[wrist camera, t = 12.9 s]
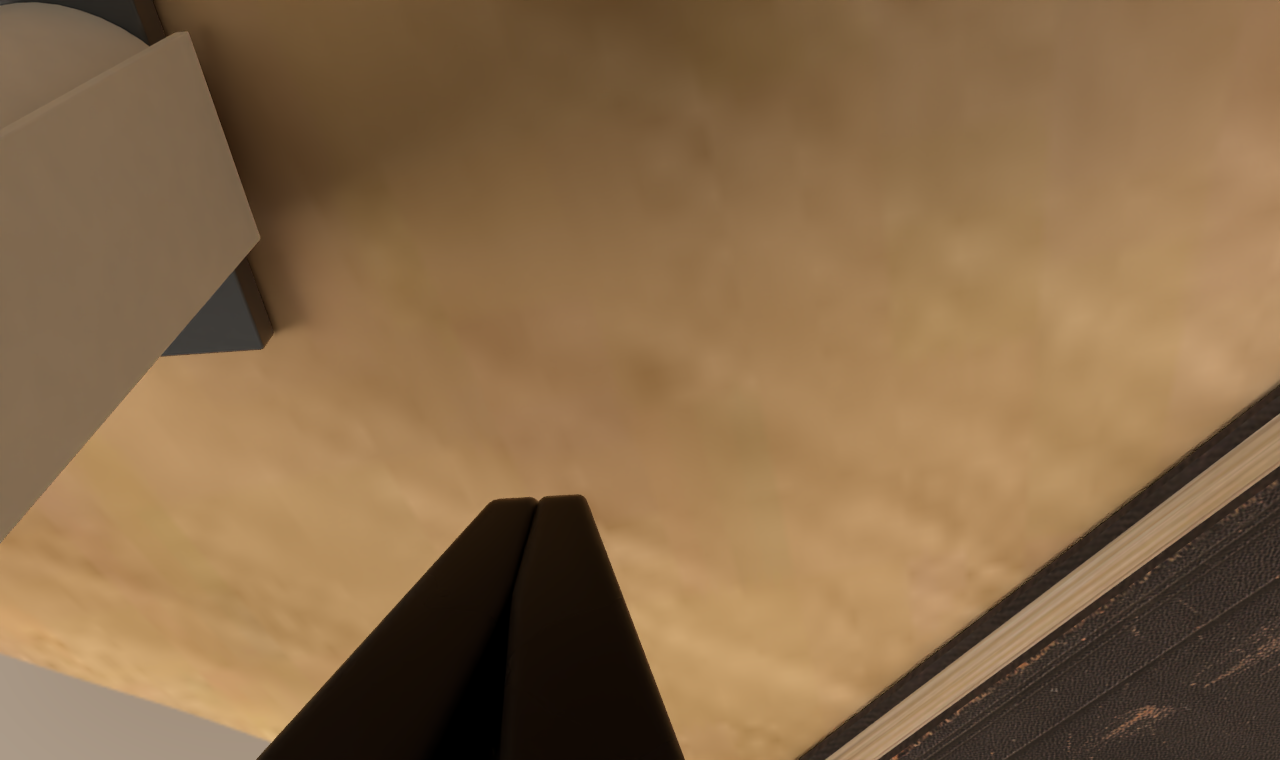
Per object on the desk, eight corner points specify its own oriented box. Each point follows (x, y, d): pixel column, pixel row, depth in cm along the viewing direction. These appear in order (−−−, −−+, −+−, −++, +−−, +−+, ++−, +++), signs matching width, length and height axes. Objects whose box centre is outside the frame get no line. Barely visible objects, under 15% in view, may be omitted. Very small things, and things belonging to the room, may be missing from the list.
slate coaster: (106, -132, 17) (83, -127, 17) (275, 333, 23) (263, 351, 22) (-291, -86, 18) (-329, -80, 17) (-32, 355, 23) (-53, 373, 23)
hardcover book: (754, 791, 33) (759, 856, 31) (1361, 318, 22) (1428, 373, 20) (1077, 931, 37) (1099, 995, 35) (1714, 599, 26) (1796, 666, 24)
